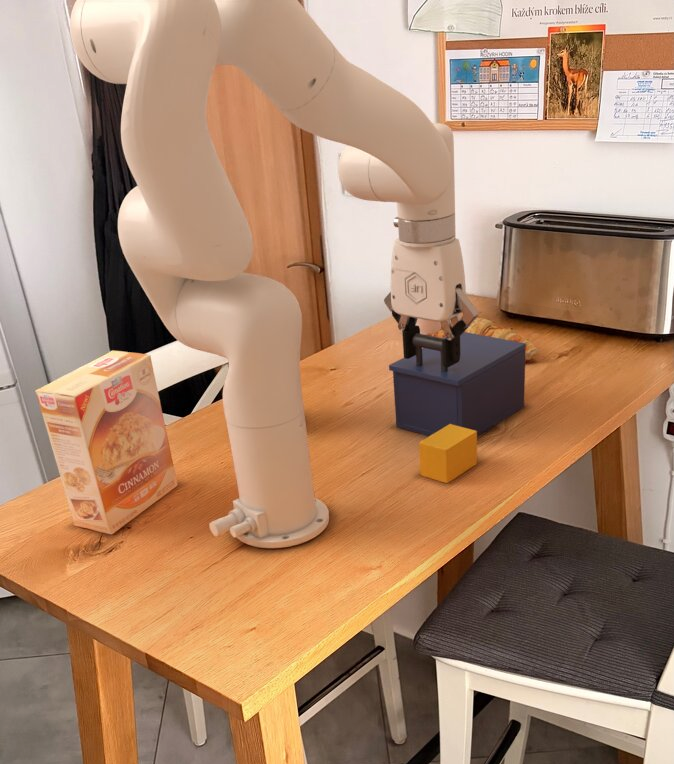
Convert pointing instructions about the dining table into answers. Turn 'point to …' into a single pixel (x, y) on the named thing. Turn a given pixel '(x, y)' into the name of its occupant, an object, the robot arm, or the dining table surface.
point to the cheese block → (448, 453)
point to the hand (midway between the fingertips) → (431, 359)
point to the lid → (473, 361)
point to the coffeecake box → (109, 439)
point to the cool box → (460, 399)
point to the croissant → (495, 334)
